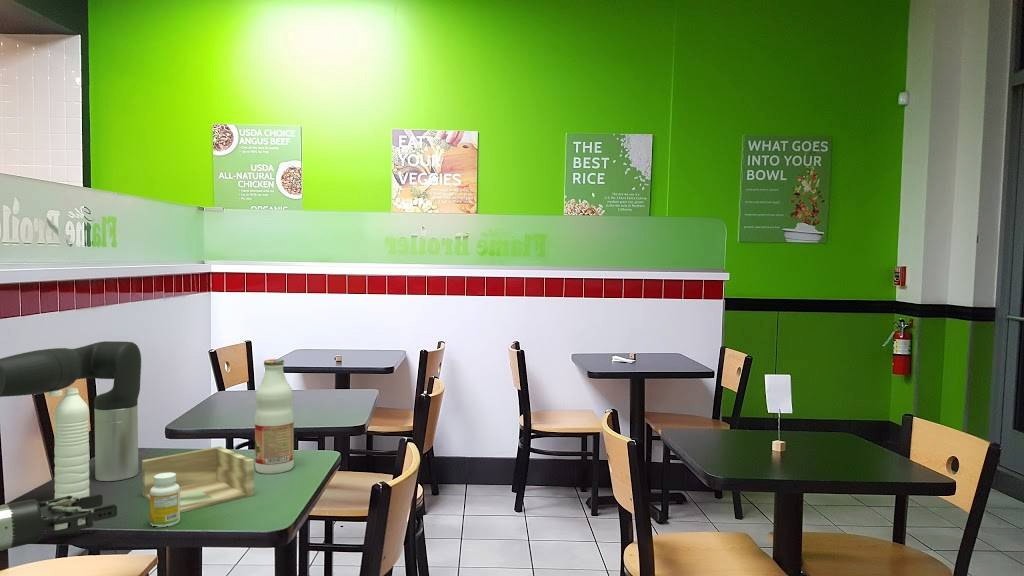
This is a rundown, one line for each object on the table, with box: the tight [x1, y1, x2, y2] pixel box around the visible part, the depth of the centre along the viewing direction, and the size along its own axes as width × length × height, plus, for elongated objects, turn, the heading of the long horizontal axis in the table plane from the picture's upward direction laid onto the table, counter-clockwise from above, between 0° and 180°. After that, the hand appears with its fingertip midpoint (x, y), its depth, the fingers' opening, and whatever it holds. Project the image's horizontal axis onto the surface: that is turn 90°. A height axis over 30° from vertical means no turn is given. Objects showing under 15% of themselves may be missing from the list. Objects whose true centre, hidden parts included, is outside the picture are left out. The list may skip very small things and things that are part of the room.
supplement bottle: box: [149, 472, 181, 528], centre depth 140 cm, size 5×5×10 cm
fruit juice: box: [254, 358, 295, 475], centre depth 178 cm, size 9×9×28 cm
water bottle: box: [48, 387, 91, 499], centre depth 152 cm, size 9×6×25 cm
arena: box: [141, 446, 255, 514], centre depth 158 cm, size 18×18×8 cm
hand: (109, 504), depth 133 cm, fingers open, 8 cm apart
